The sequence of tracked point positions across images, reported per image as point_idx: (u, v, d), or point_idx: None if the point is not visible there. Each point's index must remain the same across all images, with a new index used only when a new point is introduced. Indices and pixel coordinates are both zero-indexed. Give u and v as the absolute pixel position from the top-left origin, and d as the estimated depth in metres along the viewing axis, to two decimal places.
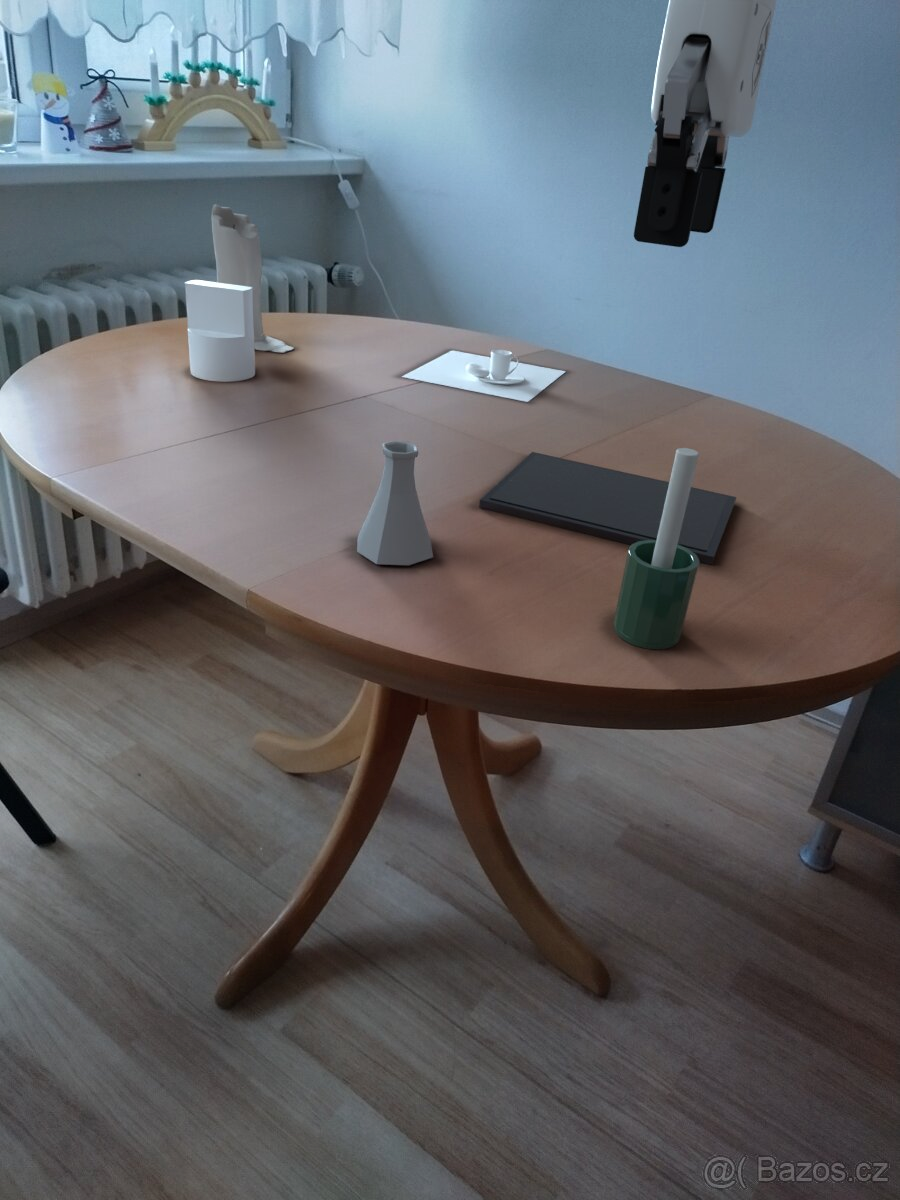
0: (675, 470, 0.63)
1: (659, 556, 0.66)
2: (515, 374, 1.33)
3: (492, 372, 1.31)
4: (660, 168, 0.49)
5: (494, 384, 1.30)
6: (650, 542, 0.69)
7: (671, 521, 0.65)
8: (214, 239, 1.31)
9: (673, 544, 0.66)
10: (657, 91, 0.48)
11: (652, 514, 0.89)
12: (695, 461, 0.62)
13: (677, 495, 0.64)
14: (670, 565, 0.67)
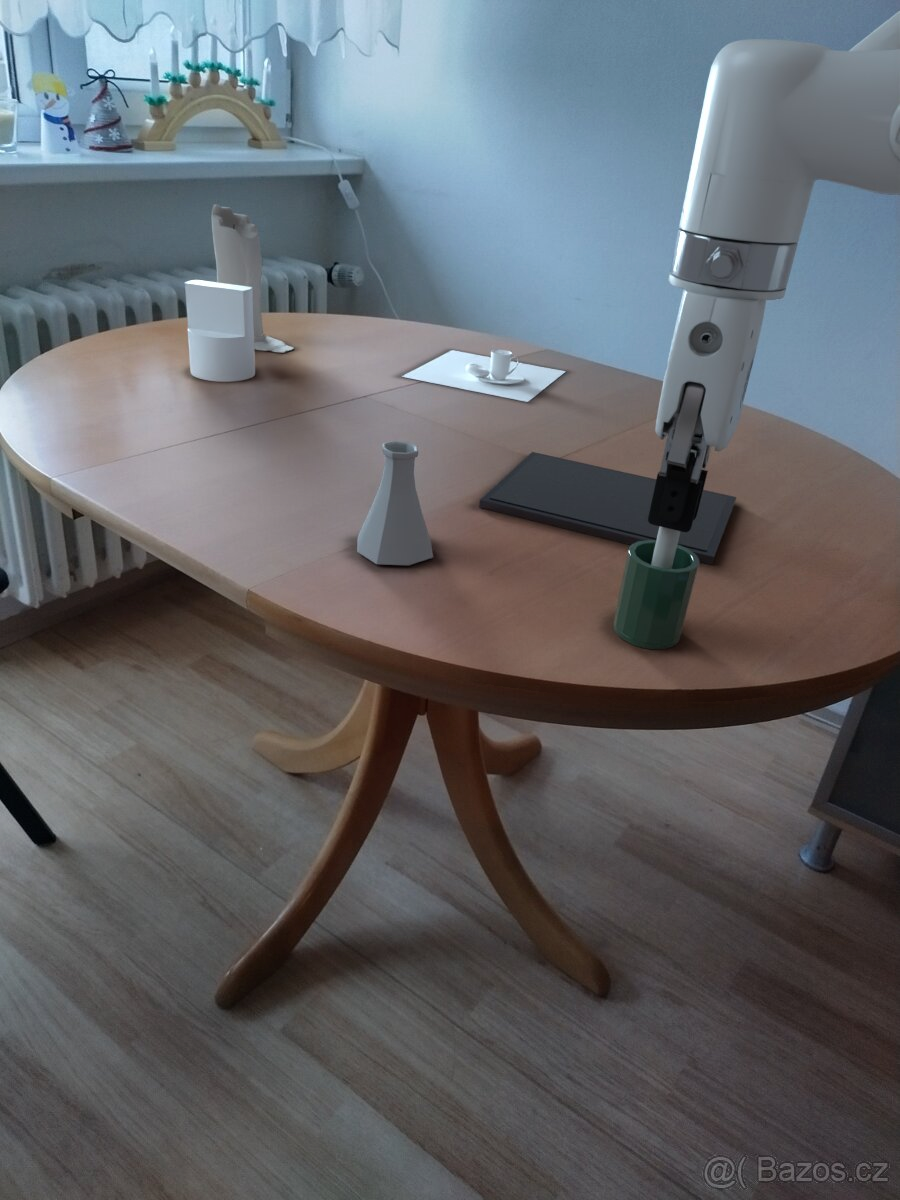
0: None
1: (659, 556, 0.66)
2: (515, 374, 1.33)
3: (492, 372, 1.31)
4: (669, 479, 0.62)
5: (494, 384, 1.30)
6: (650, 542, 0.69)
7: None
8: (214, 239, 1.31)
9: (673, 544, 0.66)
10: (660, 418, 0.58)
11: None
12: None
13: None
14: (670, 565, 0.67)
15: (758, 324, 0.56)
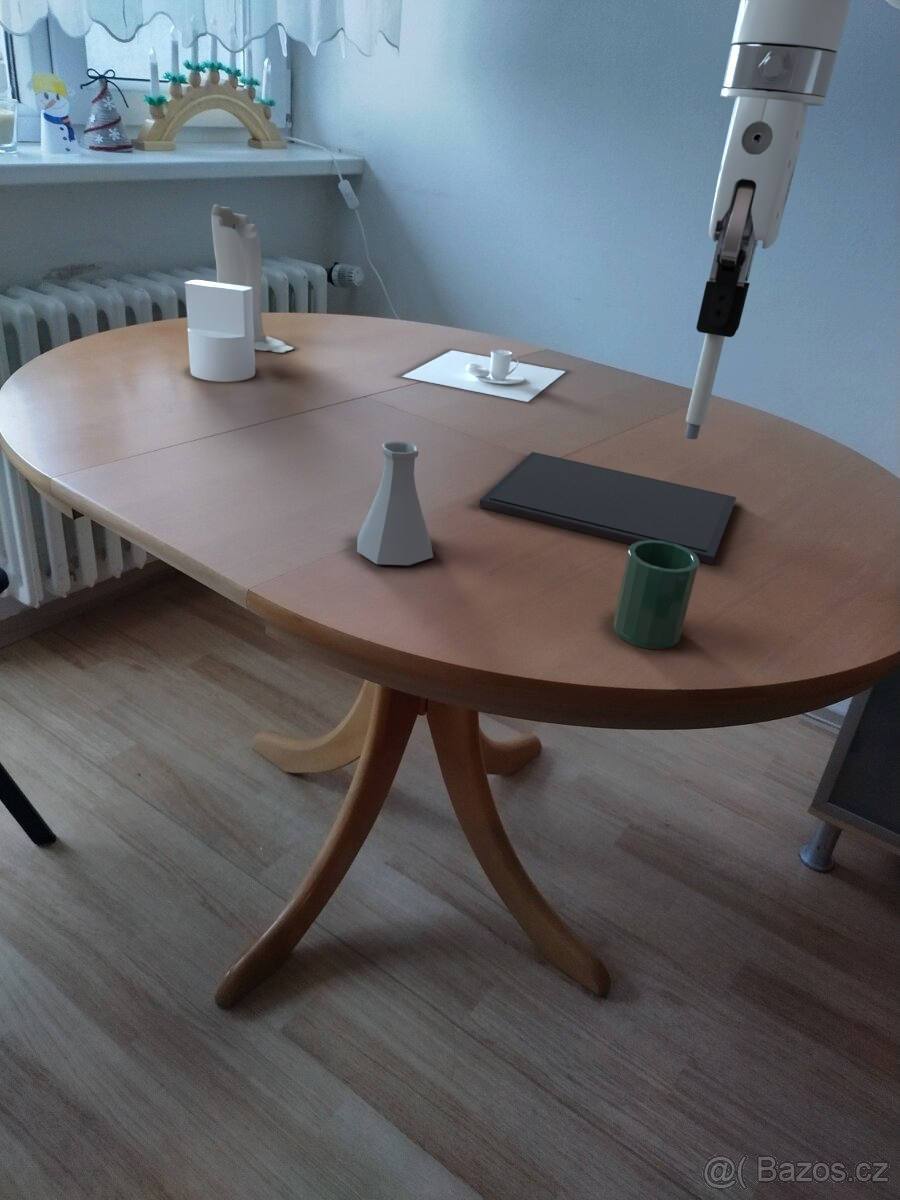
0: None
1: (704, 365, 0.74)
2: (515, 374, 1.33)
3: (492, 372, 1.31)
4: (718, 284, 0.70)
5: (494, 384, 1.30)
6: (650, 542, 0.69)
7: None
8: (214, 239, 1.31)
9: (717, 352, 0.73)
10: (714, 217, 0.65)
11: (652, 514, 0.89)
12: None
13: None
14: (714, 374, 0.74)
15: (801, 129, 0.63)
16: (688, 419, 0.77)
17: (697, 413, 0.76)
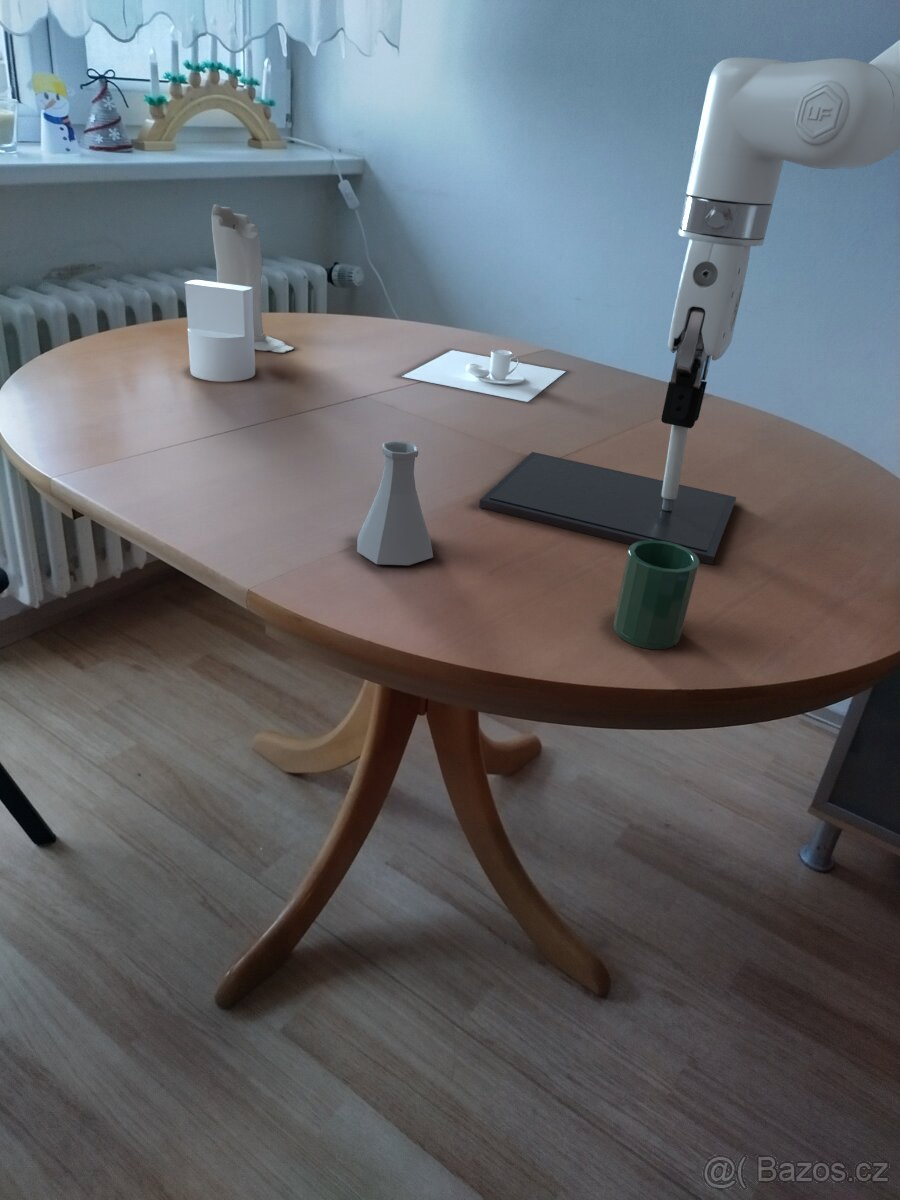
0: None
1: (672, 450, 0.87)
2: (515, 374, 1.33)
3: (492, 372, 1.31)
4: (678, 385, 0.82)
5: (494, 384, 1.30)
6: (650, 542, 0.69)
7: None
8: (214, 239, 1.31)
9: (683, 439, 0.86)
10: (672, 335, 0.78)
11: (652, 514, 0.89)
12: None
13: None
14: (681, 456, 0.87)
15: (744, 264, 0.76)
16: (663, 494, 0.89)
17: (670, 489, 0.89)
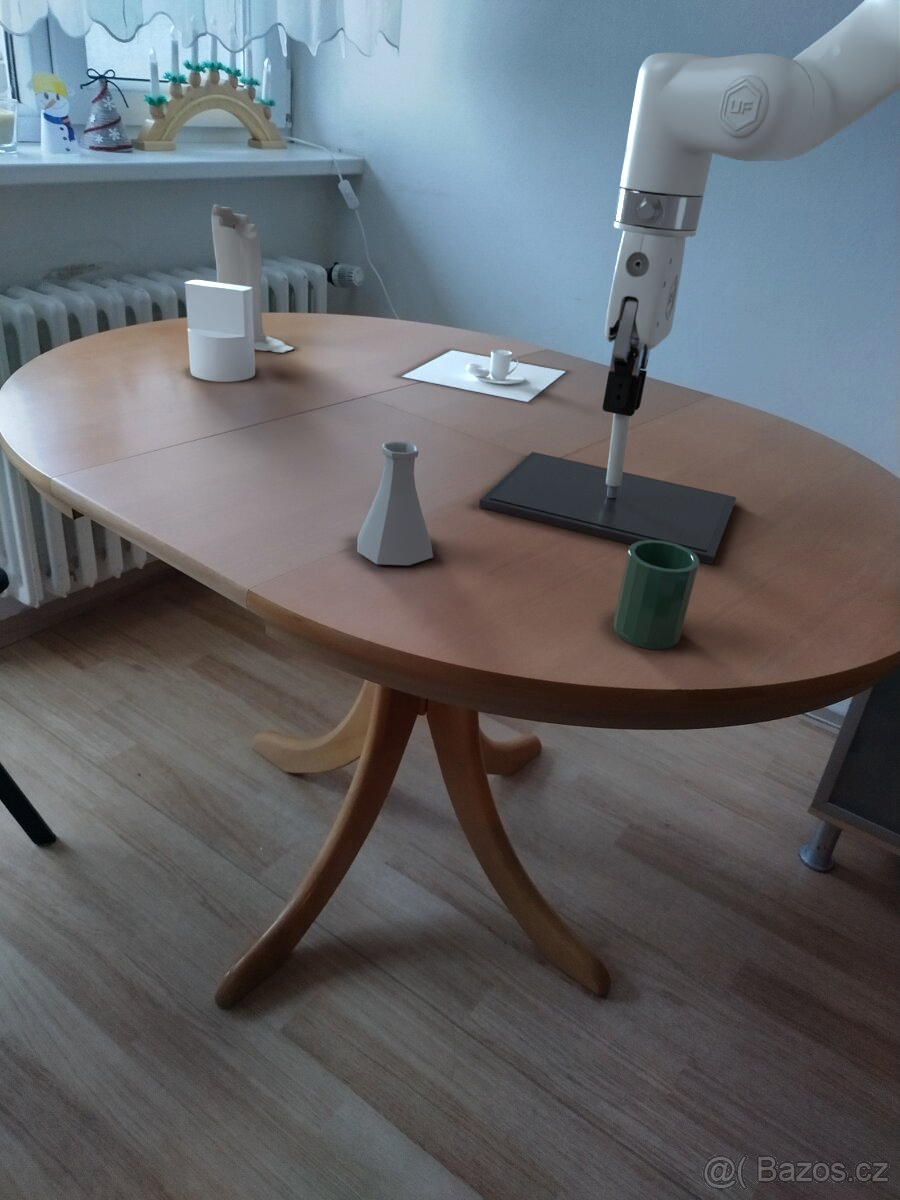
0: None
1: (615, 437, 0.89)
2: (515, 374, 1.33)
3: (492, 372, 1.31)
4: (617, 374, 0.84)
5: (494, 384, 1.30)
6: (650, 542, 0.69)
7: None
8: (214, 239, 1.31)
9: (624, 427, 0.88)
10: (607, 324, 0.80)
11: (652, 514, 0.89)
12: None
13: None
14: (624, 444, 0.89)
15: (676, 255, 0.78)
16: (607, 482, 0.91)
17: (613, 477, 0.90)
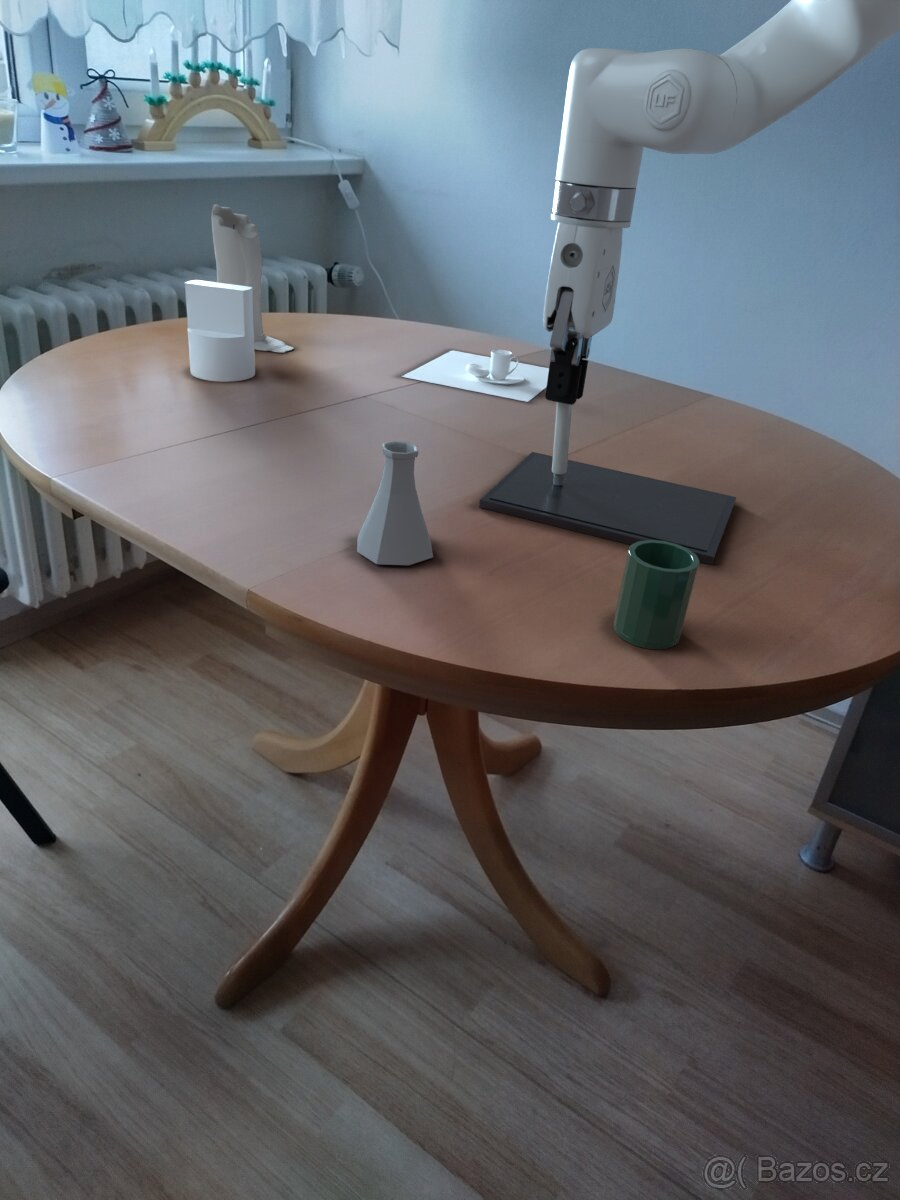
0: None
1: (558, 426, 0.90)
2: (515, 374, 1.33)
3: (492, 372, 1.31)
4: (557, 363, 0.86)
5: (494, 384, 1.30)
6: (650, 542, 0.69)
7: None
8: (214, 239, 1.31)
9: (567, 415, 0.90)
10: (545, 314, 0.82)
11: (652, 514, 0.89)
12: None
13: None
14: (567, 432, 0.91)
15: (610, 246, 0.80)
16: (553, 470, 0.93)
17: (558, 465, 0.92)
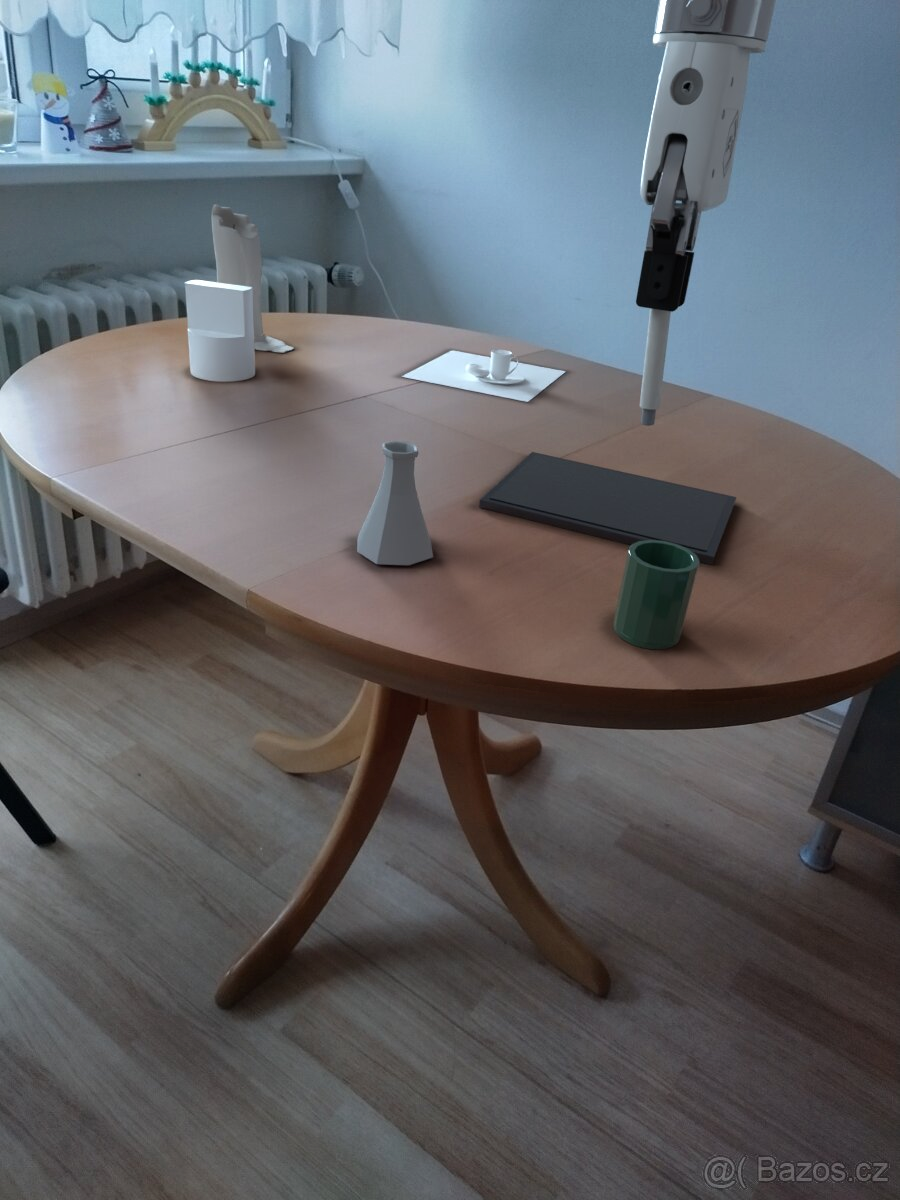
0: None
1: (651, 343, 0.68)
2: (515, 374, 1.33)
3: (492, 372, 1.31)
4: (655, 253, 0.64)
5: (494, 384, 1.30)
6: (650, 542, 0.69)
7: None
8: (214, 239, 1.31)
9: (664, 328, 0.67)
10: (644, 177, 0.59)
11: (652, 514, 0.89)
12: None
13: None
14: (663, 352, 0.68)
15: (739, 77, 0.57)
16: (641, 404, 0.70)
17: (650, 397, 0.70)
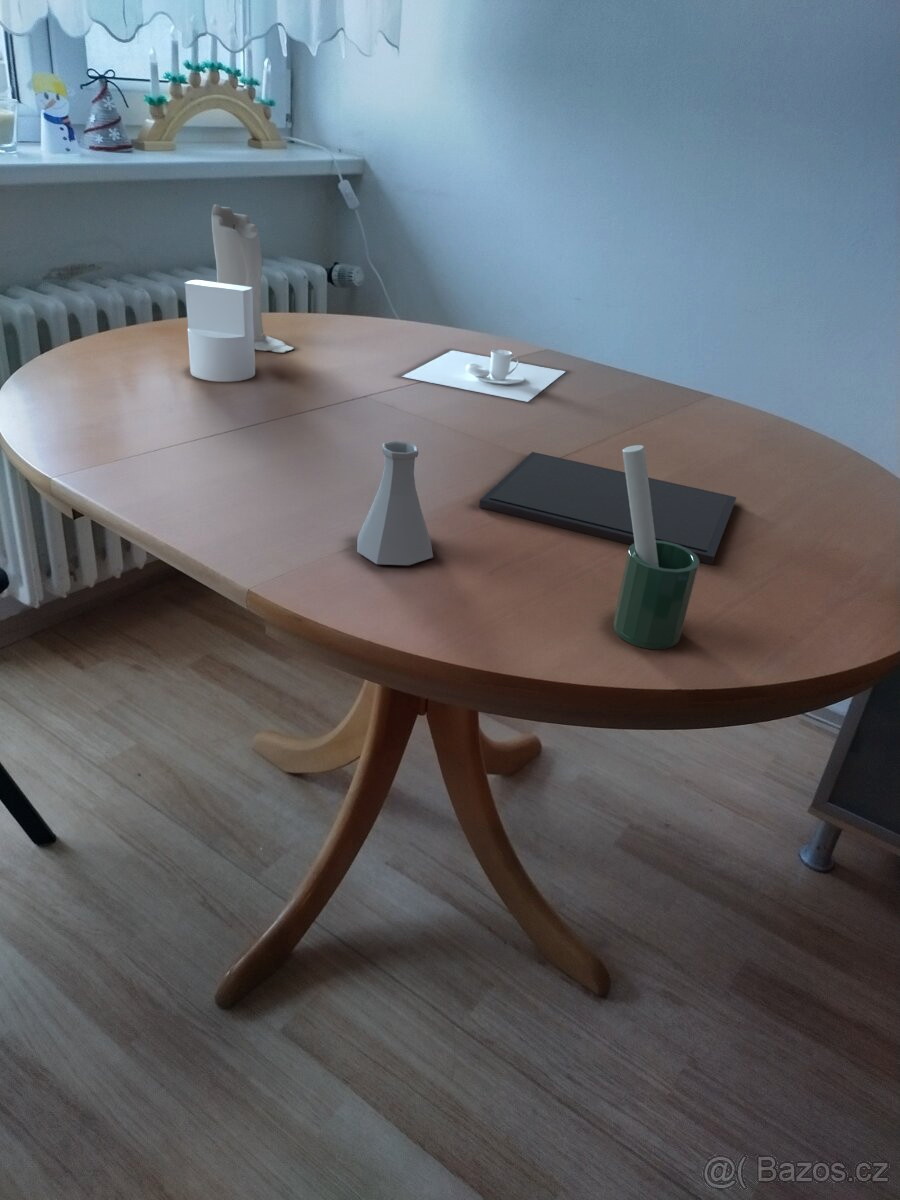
0: (627, 469, 0.64)
1: (641, 555, 0.67)
2: (515, 374, 1.33)
3: (492, 372, 1.31)
4: None
5: (494, 384, 1.30)
6: None
7: (640, 518, 0.65)
8: (214, 239, 1.31)
9: (650, 540, 0.66)
10: None
11: (652, 514, 0.89)
12: (642, 455, 0.64)
13: (637, 492, 0.65)
14: (655, 561, 0.67)
15: None
16: None
17: None
